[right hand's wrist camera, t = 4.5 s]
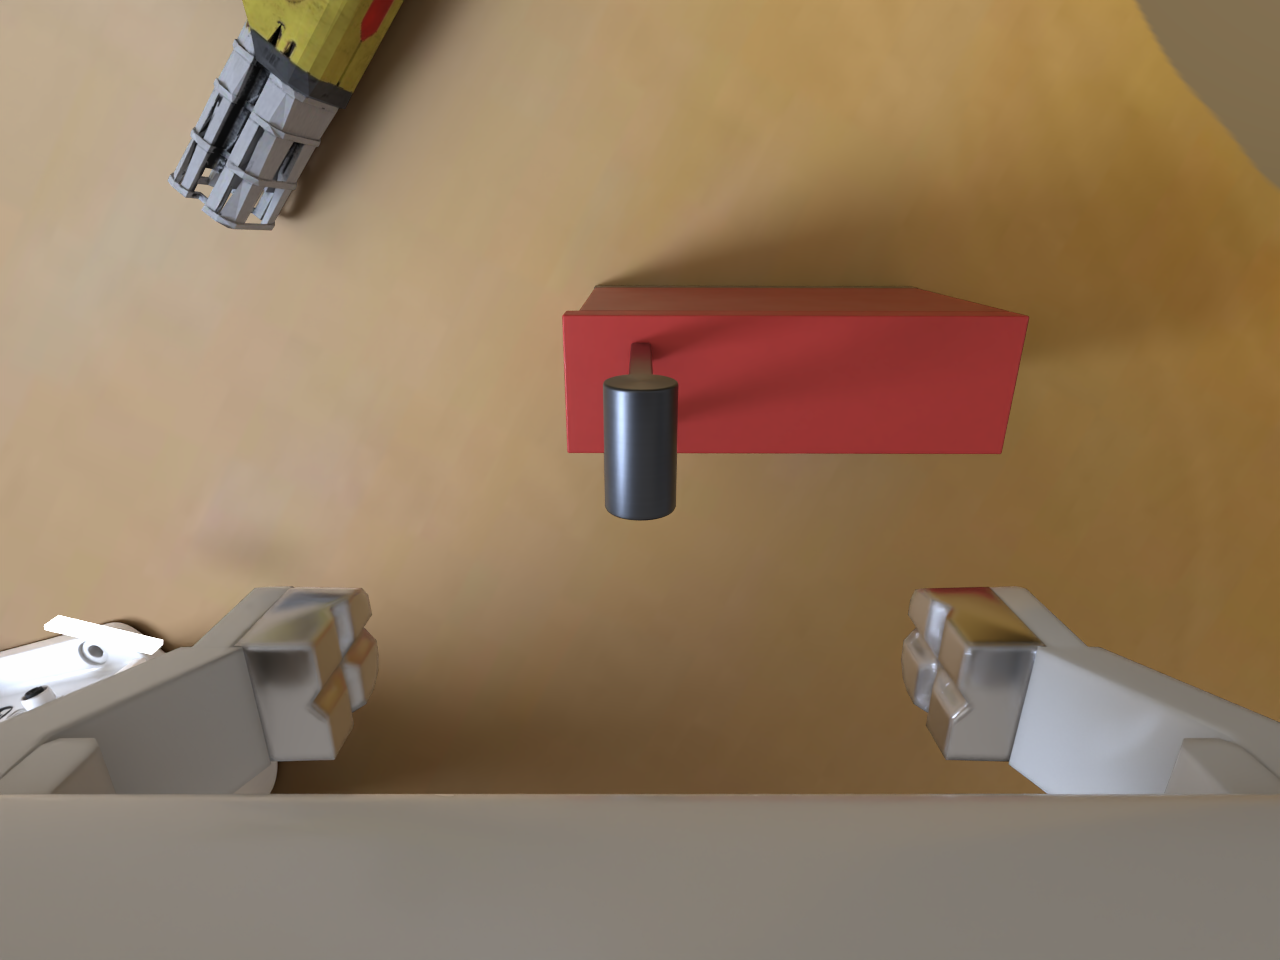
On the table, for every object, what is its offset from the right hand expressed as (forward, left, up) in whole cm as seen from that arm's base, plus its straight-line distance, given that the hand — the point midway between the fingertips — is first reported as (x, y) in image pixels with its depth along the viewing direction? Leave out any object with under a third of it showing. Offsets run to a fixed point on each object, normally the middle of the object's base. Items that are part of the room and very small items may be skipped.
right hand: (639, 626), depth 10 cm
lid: (+5, 0, -16) cm, 17 cm away
